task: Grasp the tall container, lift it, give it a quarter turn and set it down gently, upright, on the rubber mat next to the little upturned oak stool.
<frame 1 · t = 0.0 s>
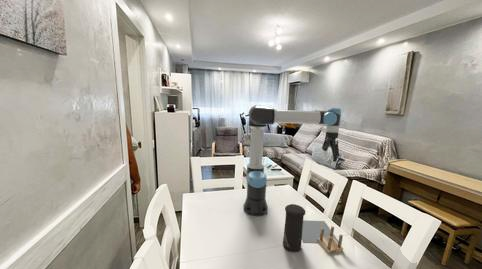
hand: (328, 162, 131), 28 cm above the table, fingers open, 13 cm apart
container: (291, 246, 92), on the table
stool: (329, 246, 92), point 1 cm above the table, touching mat
mat: (314, 231, 103), on the table
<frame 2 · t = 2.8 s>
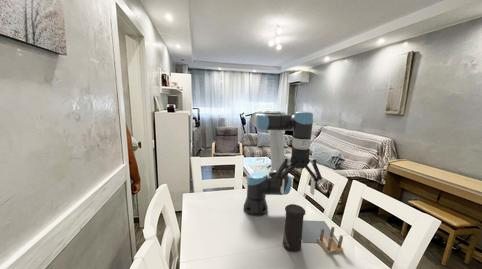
hand: (297, 193, 88), 27 cm above the table, fingers open, 13 cm apart
stool: (329, 246, 93), on the table, tilted 5°, touching mat
everything else where it was.
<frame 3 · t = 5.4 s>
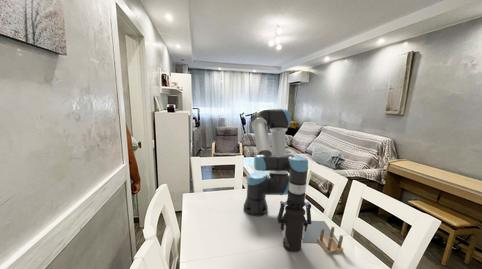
hand: (292, 236, 91), 5 cm above the table, fingers closed on container, 8 cm apart
container: (291, 246, 92), on the table, touching gripper
everything else where it was.
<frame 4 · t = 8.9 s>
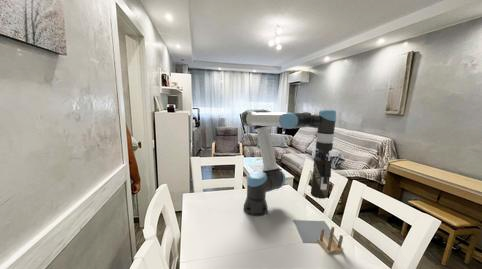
hand: (319, 185, 99), 26 cm above the table, fingers closed on container, 8 cm apart
container: (318, 195, 100), point 21 cm above the table, touching gripper
everything else where it was.
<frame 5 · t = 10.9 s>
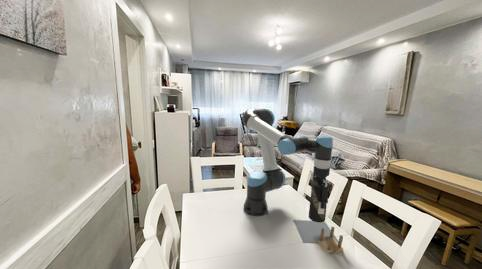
hand: (317, 208, 101), 13 cm above the table, fingers closed on container, 8 cm apart
container: (316, 218, 102), point 8 cm above the table, touching gripper
everything else where it was.
when the fingers open (7 cm above the table, at t = 12.7 s): container drops 1 cm, resting on mat.
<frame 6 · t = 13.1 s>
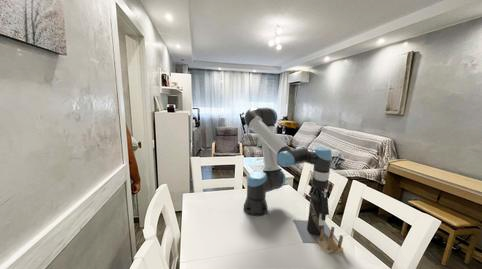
hand: (316, 216, 102), 9 cm above the table, fingers open, 13 cm apart
container: (314, 230, 103), resting on mat
everything else where it was.
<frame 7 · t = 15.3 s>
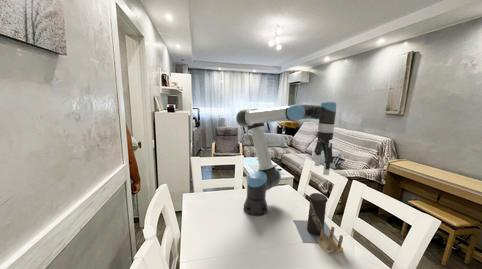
hand: (321, 170, 106), 32 cm above the table, fingers open, 13 cm apart
nothing on the table moved.
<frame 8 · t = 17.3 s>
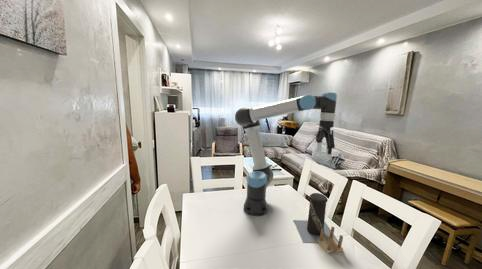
hand: (322, 156, 115), 37 cm above the table, fingers open, 13 cm apart
nothing on the table moved.
at the end: container inside the target area on the mat (0.1 cm from its centre), point 0.4 cm above the mat's base; container tilted 0°; the gripper is holding nothing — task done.
